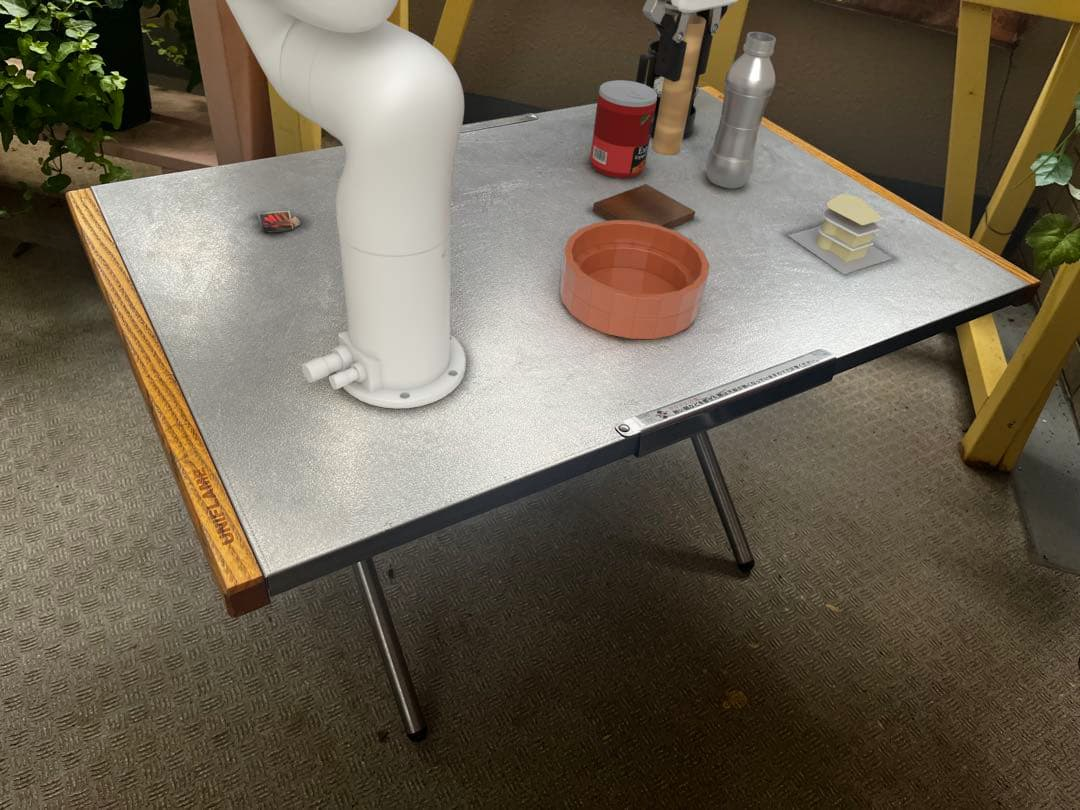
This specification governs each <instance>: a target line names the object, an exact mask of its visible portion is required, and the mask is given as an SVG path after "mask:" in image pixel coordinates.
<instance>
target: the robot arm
mask: <svg viewBox="0 0 1080 810" xmlns="http://www.w3.org/2000/svg"><path fill="white" fill-rule="evenodd" d="M739 1H740V0H646V1H645V3H644V5H643V7H642V15H643V16H645V17H646V18H647V19H649V20H650V21H652V23H653V24H654V27H655V26H656V27H657V30H656V34H657V35H658V36H659V39H658V40H659V46H658V52H657V58H656V64H655V73H656V74H658V75H660V77H664V78H666V79H668V80H670V81H673V82H676V81H679V80H680V77H681V72H682V67H683V62H684V56H685V51H686V46H687V45H686V44H687V42H685V41H683V38H684V35H685V31H686V27H687V23H688V19H689V15H690V13H693V15H698V16H701V17H703V18H704V19H705V20H706V25H705V30H704V35H703V40H702V45H701V50H700V55H699V60H698V65H697V70H696V74H699V76H701V75H705V74H706V71H707V67H708V62H709V58H710V52H711V47H712V42H713V40H714V39H713V38H714V35H716V34H717V33H718V31H719V28H720V23H721V20H722V19H723V18H724V16H725V15H726V14H727V11H728V10H729V9H730V8H731V7H732V6H733V5H734V4H735V3H737V2H739ZM225 2H226V4H227V6H228V8H229V10H230V11H231V13H232V16H233V17H234V19H235V21H236V23H237V24H238V27H239V28H240V30H241V32H242V35H243V36H244V38H245V41H246V42H247V43H248V45H249V47H250V49H251V52H252V54H253V55H254V57H255V59H256V60H257V63H258V64H259V67H260V68H261V70H262V71H263V74H264V75H265V77H266V78H267V80H268V82H269V83H270V85H271V86H272V88H274V90H275V91H276V93H277V94H278V96H279V97H280V98H281V99H282V100H283V101H284V102H285V103H286V104H287V105H288V106H289V107H290V108H292V110H294V111H296V112H297V113H299V114H300V115H302V116H303V117H304V118H306V119H308V120H309V121H311V122H312V123H313V124H315V125H317V126H318V127H320V128H321V129H323V130H325V131H326V132H327V133H328V134H330V136H332V137H334V138H335V139H337V140H338V141H339V142H340V143H341V144H342V146H343V149H344V152H345V153H344V154H345V161H344V164H343V165H344V166H343V169H342V172H341V175H340V177H339V180H338V183H337V186H336V192H335V218H336V227H337V228H336V229H337V233H338V244H339V253H340V254H339V255H340V262H341V274H342V284H343V292H344V304H345V313H346V314H345V315H346V323H347V330H344V331H341V332H339V333H338V334H337V338H338V345H337V346H334V347H332V348H331V350H330V353H328V354H326V355H324V356H318V357H315V358H313V359H310V360H308V361H305V362H303V363H301V371H302V373H303V375H304V378H305V379H306V381H307V382H308V383H310V384H312V383H314V382H317V381H320V380H322V379H325V378H326V377H328V381H329V384H330V386H331V388H332V389H333V390H334V391H337V390H339V389H342V388H343V389H344V390H345V391H346V392H347V393H348V394H349V395H350V396H352V397H354V398H355V399H357V400H359V401H360V402H363V403H366V404H368V405H371V406H375V407H380V408H386V409H395V410H396V409H413V408H418V407H419V408H420V407H423V406H426V405H429V404H433V403H435V402H437V401H439V400H442V399H444V398H445V397H447V396H448V395H449V394H451V393H452V392H454V390H455V389H456V388H458V387H459V385H460V384H461V382H462V380H463V379H464V376H465V374H466V367H467V366H466V364H467V358H466V353H465V350H464V348H463V345H462V344H461V342H459V340H458V339H457V338H456V337H455V336H454V335H452V334H451V273H452V271H451V268H452V267H451V265H452V264H451V263H452V262H451V260H452V259H451V252H452V251H451V249H452V248H451V247H452V245H451V244H452V243H451V242H452V239H451V238H452V231H451V230H452V229H451V228H452V227H451V219H452V218H451V216H452V214H451V213H452V211H451V208H452V186H453V185H452V184H453V174H454V167H455V160H456V155H457V150H458V147H459V146H458V145H459V141H460V137H461V132H462V127H463V123H464V116H465V95H464V90H463V86H462V83H461V80H460V78H459V74H458V73H457V72H456V70H455V68H454V67H453V65H452V64H451V62H450V61H449V59H448V58H447V57H446V56H445V55H444V54H443V53H442V52H441V51H440V50H439V49H437V48H436V47H435V46H433V44H431V43H430V42H429V41H427V40H425V39H424V38H422V37H420V36H419V35H417V34H415V33H413V32H411V31H409V30H408V29H407V30H406V29H405V28H403V27H401V26H399V25H397V24H394V23H393V22H391V21H388V19H389V18H390V17H391V16H392V14H393V13H394V11H395V9H396V8H397V5H398V4H399V3H398V2H399V0H225ZM672 12H675V13H678V16H677V20H676V22H675V20H674V18H673V17H672Z"/></svg>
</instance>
